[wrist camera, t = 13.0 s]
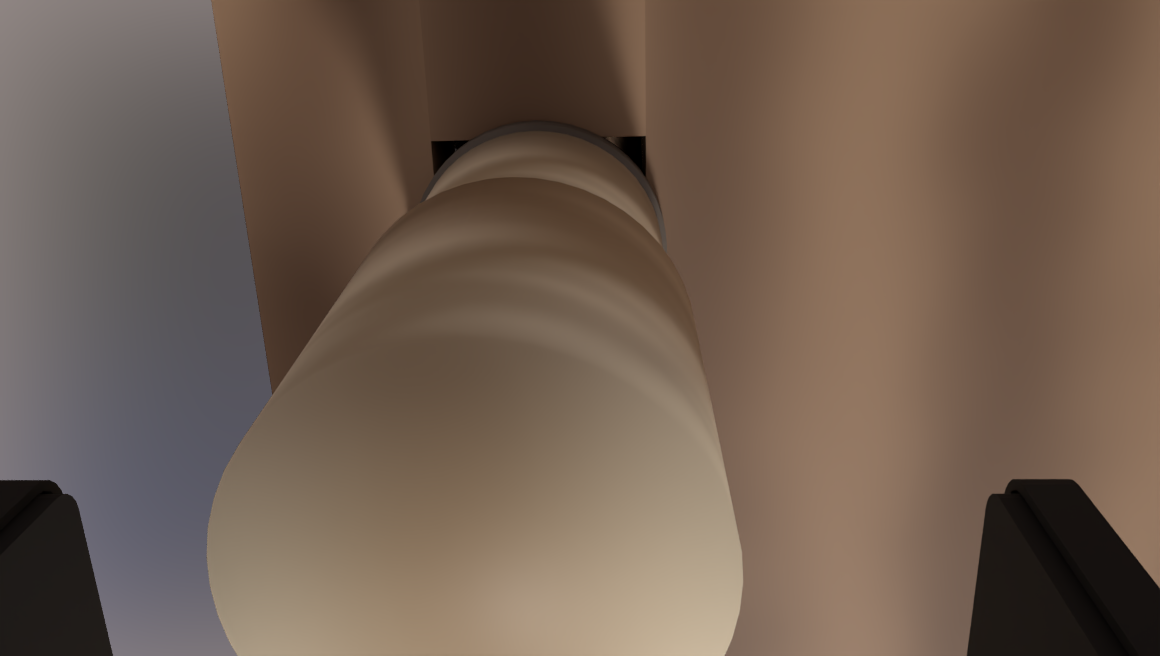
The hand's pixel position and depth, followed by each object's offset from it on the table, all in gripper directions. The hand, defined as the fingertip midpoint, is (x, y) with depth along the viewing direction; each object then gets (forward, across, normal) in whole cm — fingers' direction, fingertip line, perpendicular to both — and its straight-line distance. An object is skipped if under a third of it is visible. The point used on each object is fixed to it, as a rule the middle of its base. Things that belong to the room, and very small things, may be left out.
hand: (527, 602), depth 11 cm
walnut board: (+15, -5, +2) cm, 16 cm away
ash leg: (+14, +1, 0) cm, 14 cm away
